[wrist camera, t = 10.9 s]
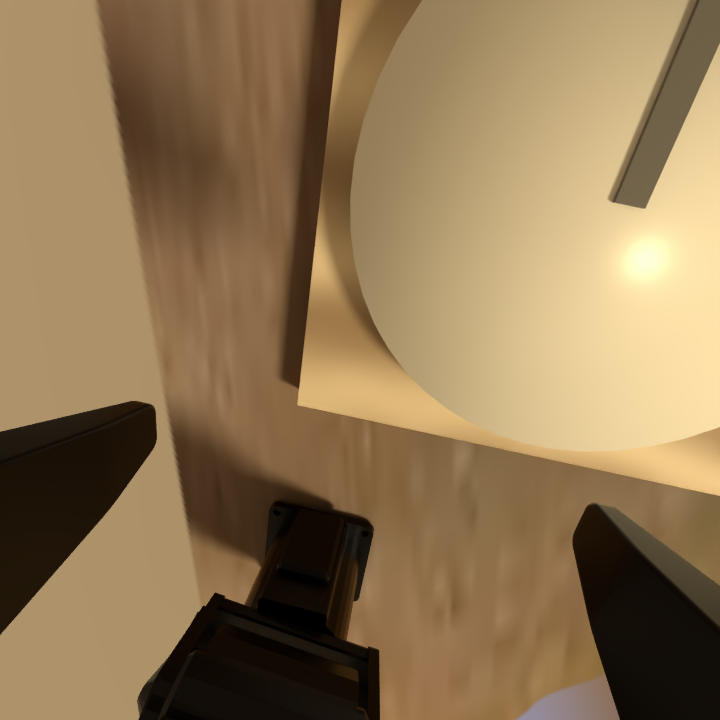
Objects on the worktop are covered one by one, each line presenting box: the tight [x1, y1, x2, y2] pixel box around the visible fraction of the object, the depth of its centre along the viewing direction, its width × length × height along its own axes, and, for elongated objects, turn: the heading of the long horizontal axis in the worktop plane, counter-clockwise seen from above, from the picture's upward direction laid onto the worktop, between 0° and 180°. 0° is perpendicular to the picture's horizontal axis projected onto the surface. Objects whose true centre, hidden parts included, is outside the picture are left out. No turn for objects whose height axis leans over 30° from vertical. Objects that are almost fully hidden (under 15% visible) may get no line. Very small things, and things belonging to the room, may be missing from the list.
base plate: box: [298, 0, 720, 496], centre depth 15 cm, size 22×22×2 cm
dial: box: [350, 0, 720, 451], centre depth 12 cm, size 19×19×6 cm
